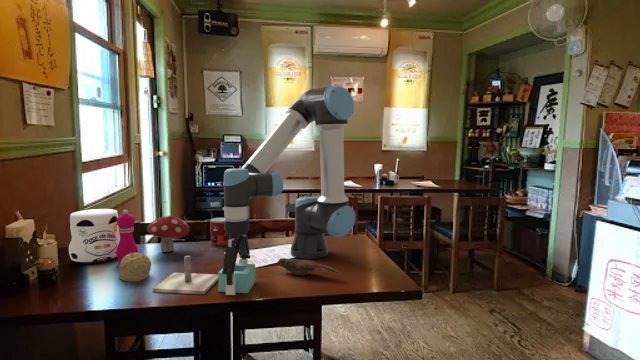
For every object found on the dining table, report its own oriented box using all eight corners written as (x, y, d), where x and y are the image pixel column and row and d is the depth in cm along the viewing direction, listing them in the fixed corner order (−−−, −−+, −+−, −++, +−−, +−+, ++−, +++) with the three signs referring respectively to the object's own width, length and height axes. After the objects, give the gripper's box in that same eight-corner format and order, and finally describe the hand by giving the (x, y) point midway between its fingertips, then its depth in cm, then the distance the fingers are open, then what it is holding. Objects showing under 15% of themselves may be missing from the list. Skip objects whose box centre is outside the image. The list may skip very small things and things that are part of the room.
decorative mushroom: (193, 246, 167) (192, 211, 166) (186, 257, 152) (185, 219, 150) (154, 247, 165) (153, 211, 164) (142, 258, 150) (141, 219, 148)
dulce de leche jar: (100, 269, 138) (98, 218, 136) (57, 265, 141) (54, 216, 139) (132, 254, 155) (130, 209, 153) (93, 251, 158) (91, 207, 156)
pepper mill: (142, 261, 147) (140, 208, 144) (131, 267, 140) (129, 212, 137) (124, 260, 147) (121, 207, 145) (112, 266, 140) (109, 211, 138)
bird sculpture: (338, 283, 127) (339, 268, 127) (268, 274, 135) (268, 259, 135) (344, 276, 133) (344, 262, 133) (276, 268, 141) (276, 254, 141)
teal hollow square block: (255, 282, 127) (255, 264, 127) (247, 293, 118) (247, 273, 118) (228, 280, 128) (227, 263, 128) (218, 291, 119) (218, 272, 119)
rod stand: (220, 277, 131) (220, 251, 130) (204, 294, 117) (203, 265, 116) (174, 275, 132) (173, 249, 131) (152, 291, 119) (151, 262, 118)
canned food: (209, 242, 173) (209, 218, 172) (227, 241, 176) (227, 217, 175) (212, 247, 166) (211, 221, 165) (231, 245, 169) (230, 220, 168)
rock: (148, 281, 137) (139, 254, 139) (159, 272, 129) (149, 244, 131) (119, 291, 130) (110, 262, 132) (129, 282, 122) (119, 252, 124)
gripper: (237, 211, 133) (237, 272, 136) (209, 227, 109) (211, 301, 111) (258, 211, 133) (258, 273, 135) (236, 228, 108) (237, 303, 111)
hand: (237, 286), depth 123 cm, fingers open, 13 cm apart
